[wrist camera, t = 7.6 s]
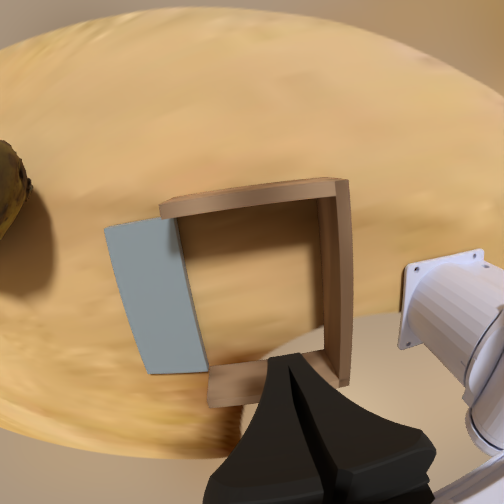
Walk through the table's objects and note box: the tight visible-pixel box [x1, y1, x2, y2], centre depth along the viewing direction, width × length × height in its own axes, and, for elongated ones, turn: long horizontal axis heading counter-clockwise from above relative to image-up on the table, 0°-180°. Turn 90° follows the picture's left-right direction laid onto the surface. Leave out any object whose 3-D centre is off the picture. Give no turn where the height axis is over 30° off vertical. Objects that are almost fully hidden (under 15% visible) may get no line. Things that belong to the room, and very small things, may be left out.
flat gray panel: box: [104, 217, 209, 374], centre depth 20 cm, size 1×12×5 cm
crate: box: [159, 177, 353, 408], centre depth 19 cm, size 10×14×4 cm
